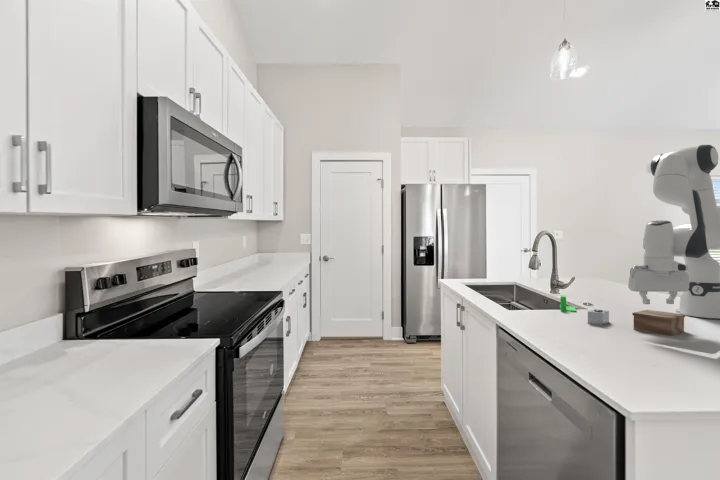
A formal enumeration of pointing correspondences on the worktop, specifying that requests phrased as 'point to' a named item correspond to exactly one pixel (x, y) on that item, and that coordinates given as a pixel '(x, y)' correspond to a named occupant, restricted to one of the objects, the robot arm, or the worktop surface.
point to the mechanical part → (563, 305)
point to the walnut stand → (659, 322)
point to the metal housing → (598, 317)
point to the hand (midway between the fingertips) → (658, 304)
